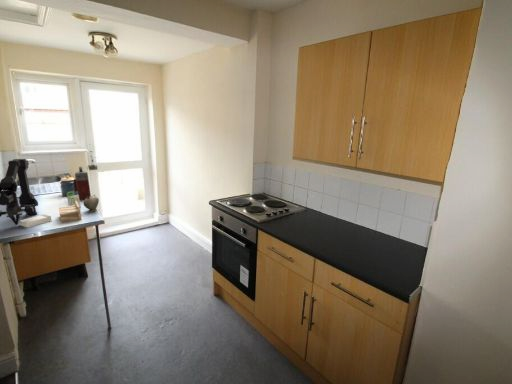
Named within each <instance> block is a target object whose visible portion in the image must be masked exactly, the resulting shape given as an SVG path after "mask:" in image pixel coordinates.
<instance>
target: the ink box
mask: <svg viewBox="0 0 512 384" xmlns="http://www.w3.org/2000/svg"><path fill="white" fill-rule="evenodd" d="M69 193H73V194H70V195H69ZM66 197H67V206H73V205H75V201H77V202H78V204H79V206H80V209H81V200H79V195H78V194H77V195H74V191H71V192H67V196H66Z"/></svg>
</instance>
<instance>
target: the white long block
mask: <svg viewBox="0 0 512 384" xmlns="http://www.w3.org/2000/svg"><path fill="white" fill-rule="evenodd" d="M48 222H52V215H48V214H40V215H36V216H33V217H29V218H25V219H21V220H18V223H19V225H20V226H21V227H24V228H30V227H33V226H38V225H42V224H44V223H48Z"/></svg>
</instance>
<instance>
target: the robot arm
mask: <svg viewBox="0 0 512 384" xmlns="http://www.w3.org/2000/svg"><path fill="white" fill-rule="evenodd" d="M26 159H27V158H14V159H12V160H8V165H7V169H6V173H5V176H4V177H3V178H2V179H1V180H0V206H6V207H5V211H3V210H1V209H0V218H1V217H2V216H3V215H6V216H5V217H6V218H9V219H11V220H12V222H13V223H14V224H15V226H18V223H19V221H20V220H19V219H20V216H23V213H25V217H30V216H38V212H37V209H36V208H37V207H38V206H39V201H38V200H37V199H36V198H35V195H34V194H33V193H32V192H31V189H30V184H29V180H28V175H27V171H28V169H29V163H30V162H29V160H26ZM16 179H18V182H19V188H20V195H19V196H17V192H18V191H17V190H18V182H17V181H16Z"/></svg>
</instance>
